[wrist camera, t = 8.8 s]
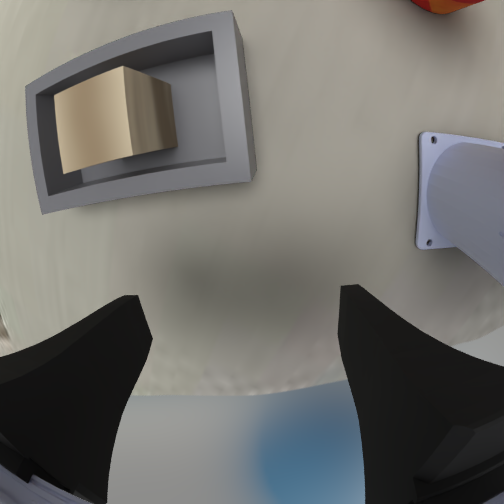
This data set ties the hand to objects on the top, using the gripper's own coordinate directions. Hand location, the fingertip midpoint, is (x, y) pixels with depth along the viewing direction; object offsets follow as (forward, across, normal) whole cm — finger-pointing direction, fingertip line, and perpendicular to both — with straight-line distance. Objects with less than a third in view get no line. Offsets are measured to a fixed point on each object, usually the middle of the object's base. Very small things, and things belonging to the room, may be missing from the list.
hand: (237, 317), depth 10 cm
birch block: (+9, +6, -8) cm, 13 cm away
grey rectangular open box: (+9, +6, -8) cm, 14 cm away
